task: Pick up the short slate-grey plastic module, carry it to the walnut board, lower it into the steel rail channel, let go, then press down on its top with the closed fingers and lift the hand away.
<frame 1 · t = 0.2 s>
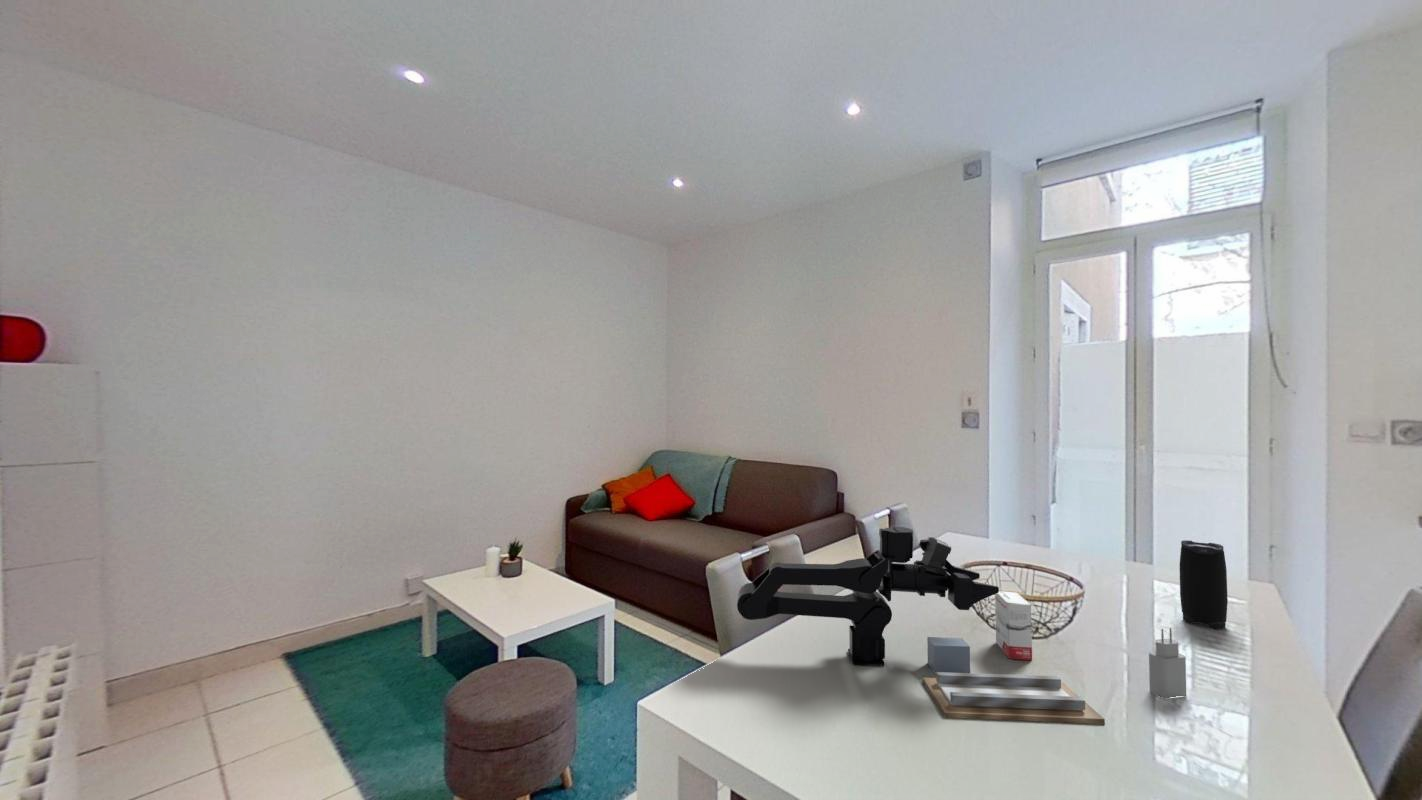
hand: (988, 582, 111), 17 cm above the table, tool horizontal, fingers open, 9 cm apart
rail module: (948, 668, 108), on the table
portable speaker: (1204, 624, 130), on the table
rail mount: (1007, 701, 96), on the table
power adapter: (1167, 694, 98), on the table
ink box: (1013, 652, 116), on the table
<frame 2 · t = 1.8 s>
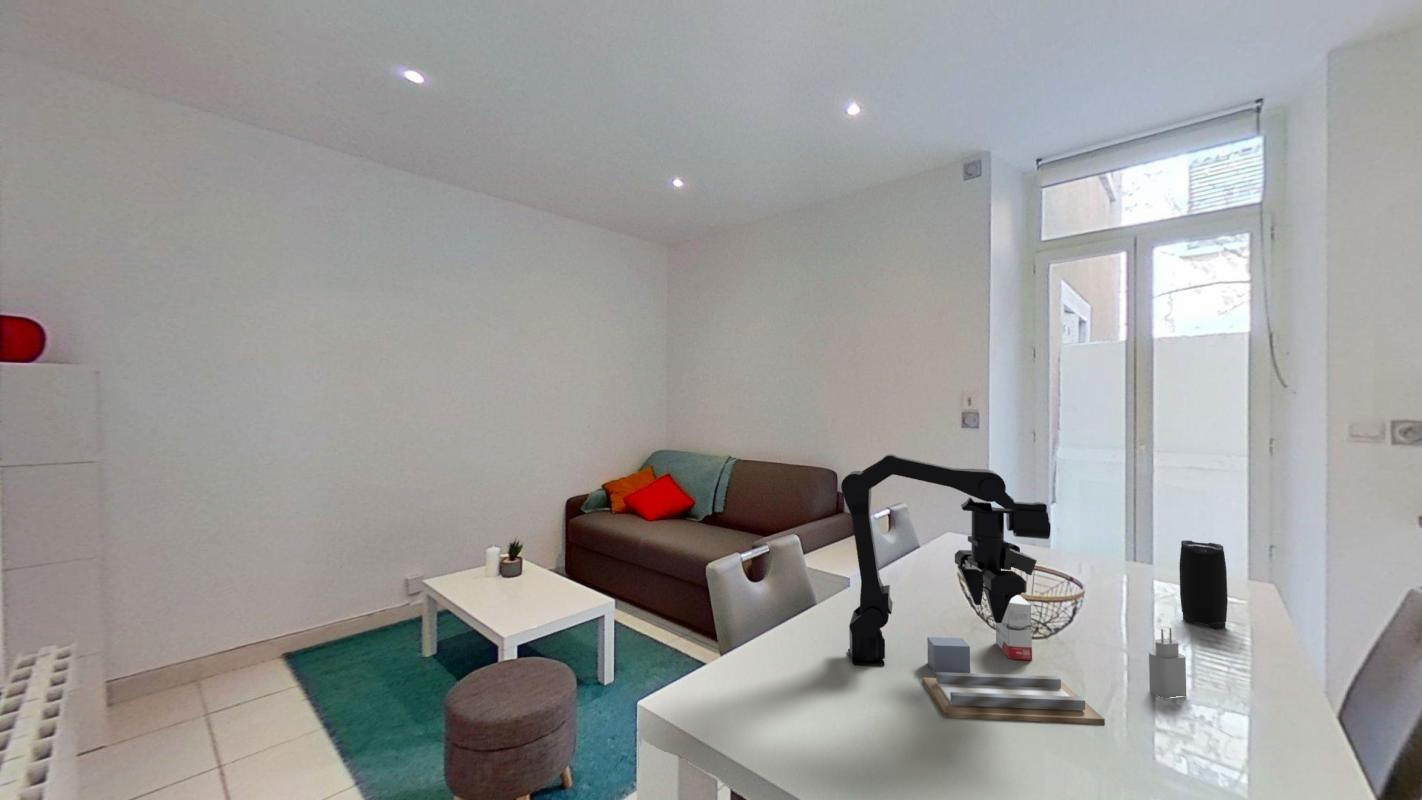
hand: (987, 613, 104), 13 cm above the table, tool pointing down, fingers open, 9 cm apart
nothing on the table moved.
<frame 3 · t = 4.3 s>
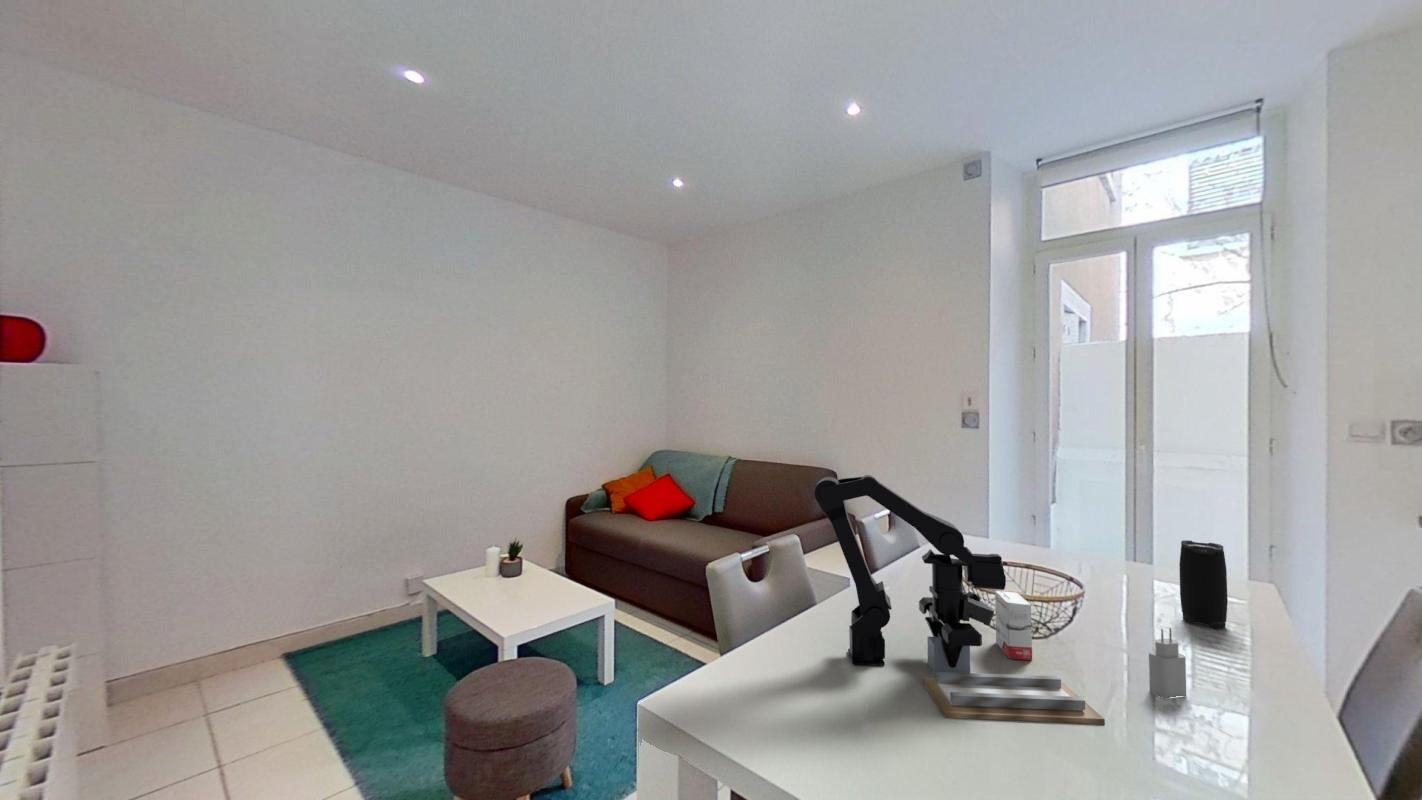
hand: (948, 662, 108), 1 cm above the table, tool pointing down, fingers closed on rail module, 4 cm apart
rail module: (948, 668, 108), on the table, touching gripper
everything else where it was.
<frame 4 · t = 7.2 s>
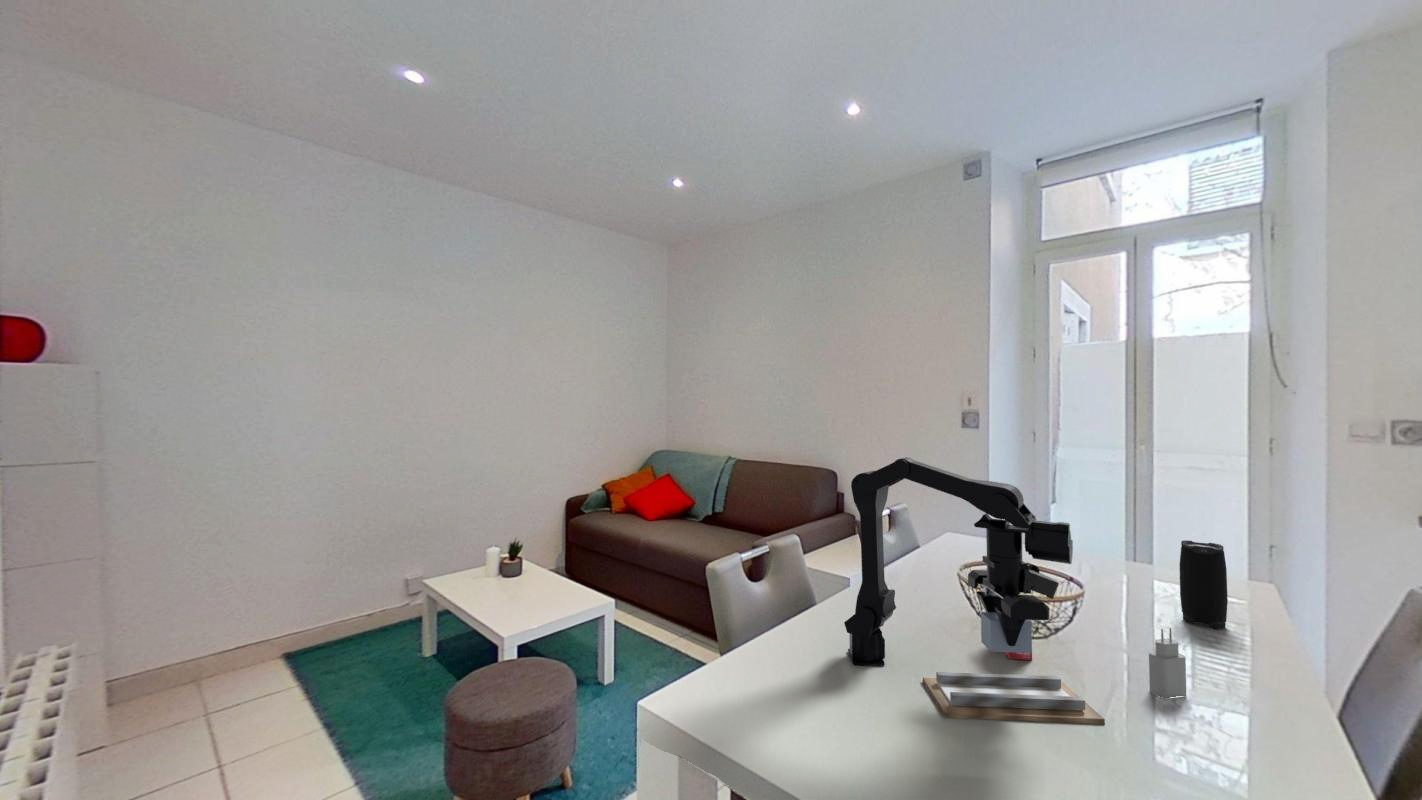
hand: (1005, 640, 96), 11 cm above the table, tool pointing down, fingers closed on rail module, 4 cm apart
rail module: (1006, 647, 96), point 10 cm above the table, touching gripper
everything else where it was.
when the fingers open (3 cm above the table, at t = 10.0 s): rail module stays where it is, resting on rail mount.
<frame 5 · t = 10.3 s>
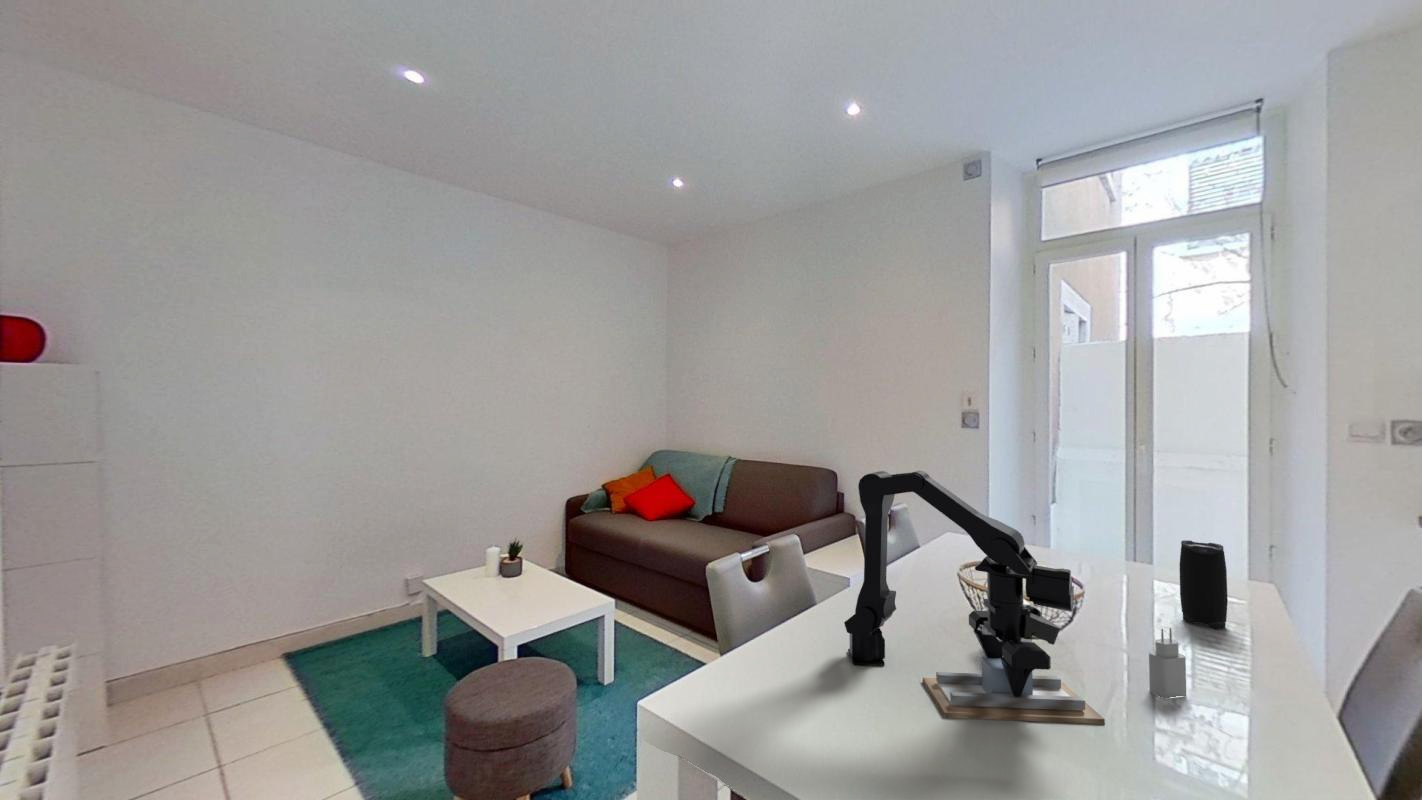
hand: (1006, 685, 96), 3 cm above the table, tool pointing down, fingers open, 7 cm apart
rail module: (1006, 694, 96), point 1 cm above the table, touching rail mount
everything else where it was.
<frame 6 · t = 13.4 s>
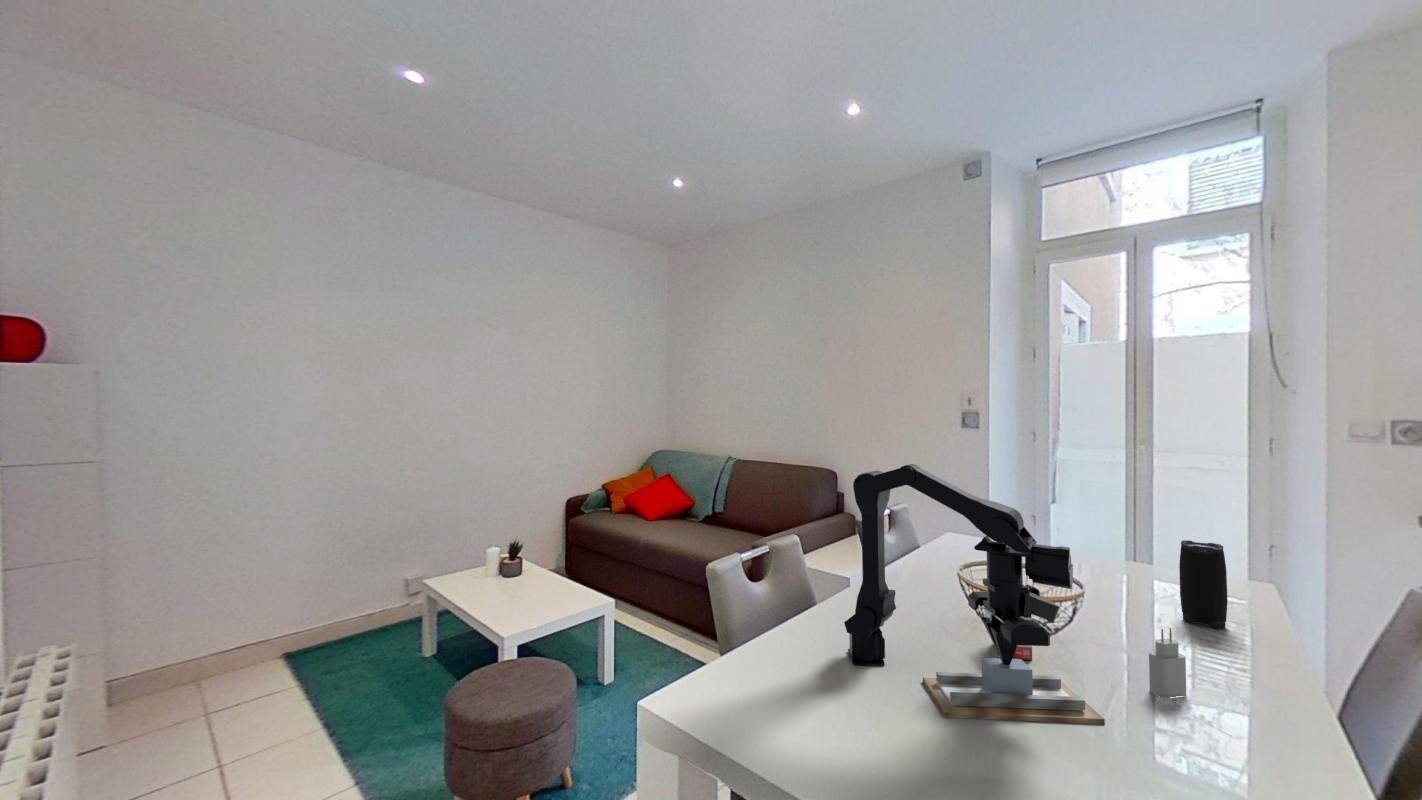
hand: (1006, 663, 96), 7 cm above the table, tool pointing down, fingers closed, pressing on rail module
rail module: (1006, 694, 96), point 1 cm above the table, touching gripper, rail mount
everything else where it was.
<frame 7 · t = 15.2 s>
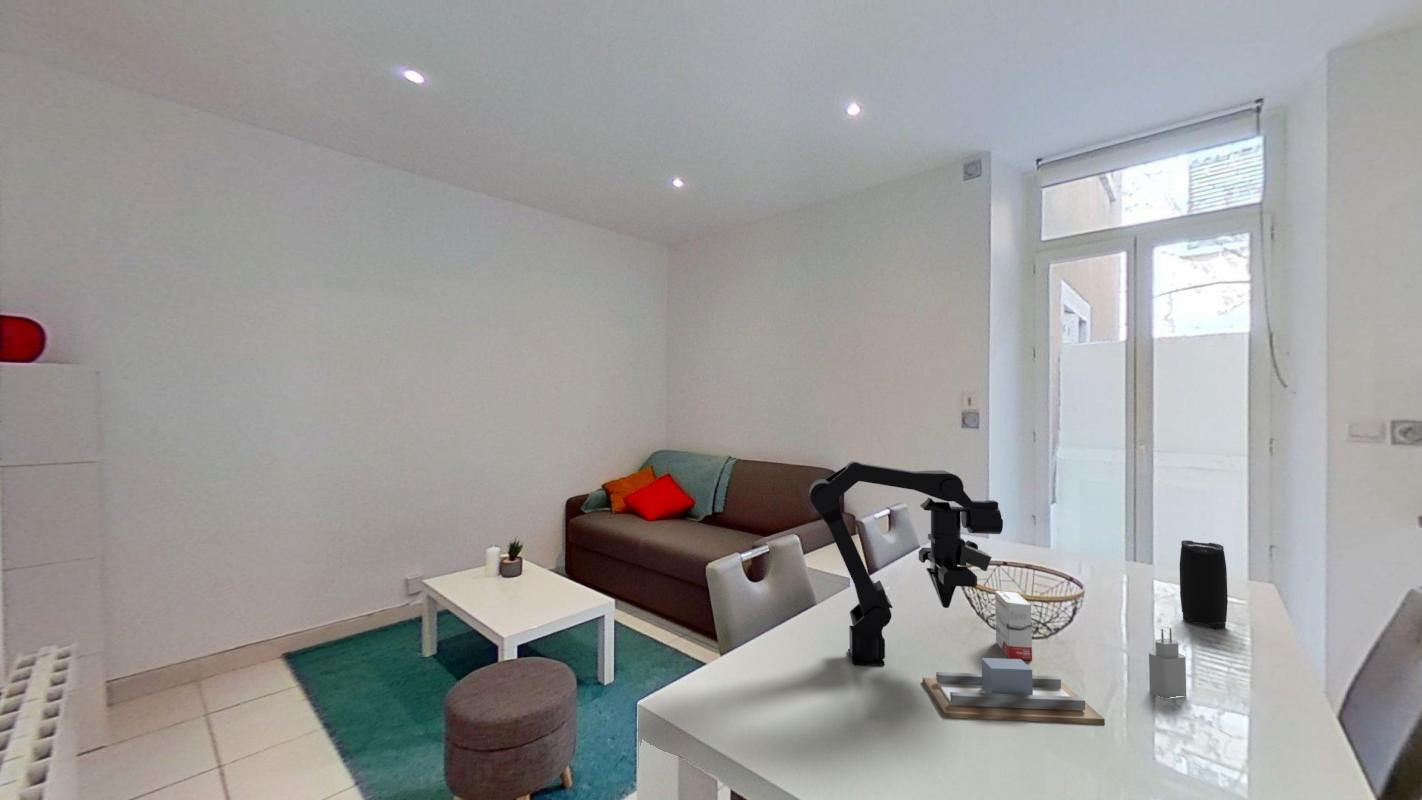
hand: (945, 607, 110), 12 cm above the table, tool pointing down, fingers closed
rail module: (1006, 694, 96), point 1 cm above the table, touching rail mount
everything else where it was.
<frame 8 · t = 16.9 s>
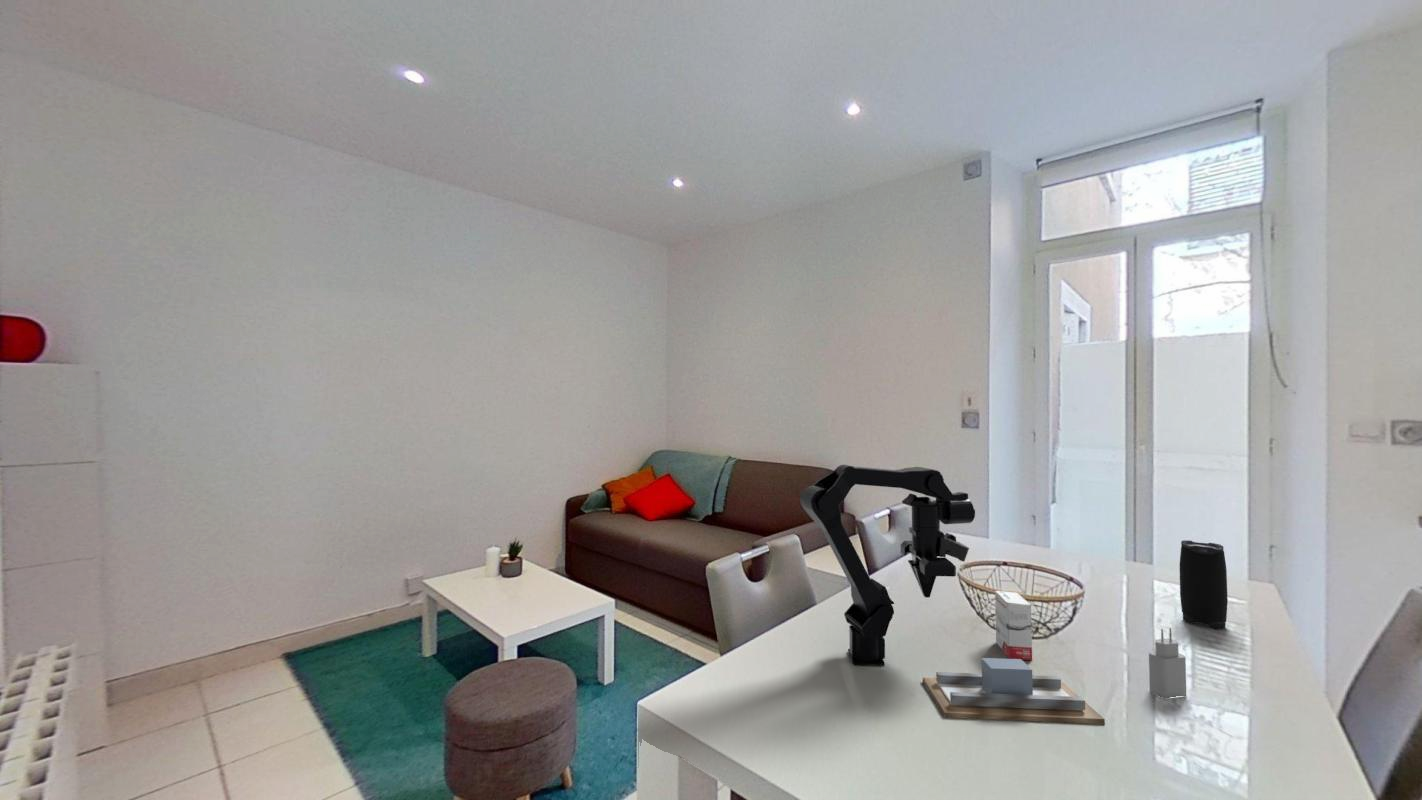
hand: (926, 596, 116), 12 cm above the table, tool pointing down, fingers closed
nothing on the table moved.
at the end: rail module inside the target area on the rail mount (0.1 cm from its centre), point 1.2 cm above the rail mount's base; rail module tilted 0°; the gripper is holding nothing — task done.
